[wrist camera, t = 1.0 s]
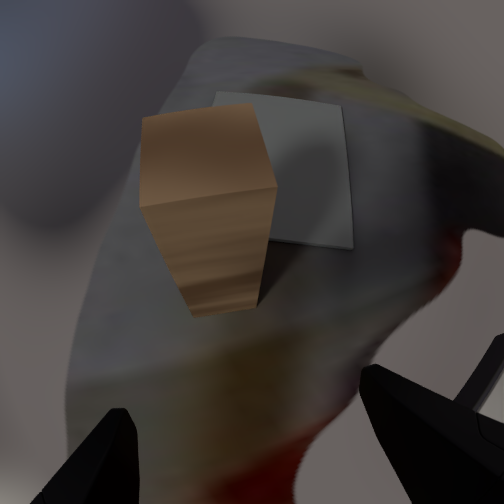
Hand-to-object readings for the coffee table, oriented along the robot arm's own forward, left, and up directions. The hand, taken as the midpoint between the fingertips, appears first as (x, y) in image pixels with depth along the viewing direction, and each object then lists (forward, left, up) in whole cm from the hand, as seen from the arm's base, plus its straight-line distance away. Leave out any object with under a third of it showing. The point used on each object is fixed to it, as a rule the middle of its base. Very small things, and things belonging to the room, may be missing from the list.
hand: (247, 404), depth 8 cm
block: (+8, +3, -14) cm, 16 cm away
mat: (+21, 0, -14) cm, 25 cm away
